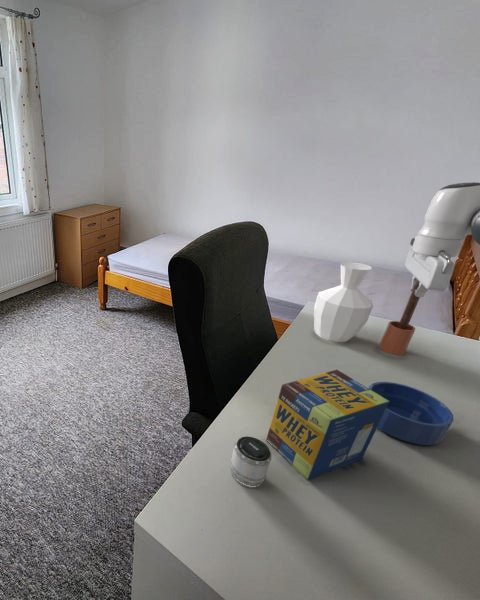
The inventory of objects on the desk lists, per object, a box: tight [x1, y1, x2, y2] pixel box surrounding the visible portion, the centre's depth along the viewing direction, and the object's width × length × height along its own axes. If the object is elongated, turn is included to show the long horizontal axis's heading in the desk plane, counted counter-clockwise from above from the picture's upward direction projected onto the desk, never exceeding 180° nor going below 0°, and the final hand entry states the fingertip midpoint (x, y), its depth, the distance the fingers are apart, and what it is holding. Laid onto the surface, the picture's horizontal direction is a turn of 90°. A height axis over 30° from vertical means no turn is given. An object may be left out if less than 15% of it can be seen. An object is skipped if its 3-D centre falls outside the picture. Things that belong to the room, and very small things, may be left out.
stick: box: [397, 280, 421, 330], centre depth 99 cm, size 2×2×22 cm
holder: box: [378, 320, 417, 356], centre depth 102 cm, size 6×6×9 cm
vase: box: [313, 261, 374, 343], centre depth 107 cm, size 14×14×25 cm
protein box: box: [265, 369, 390, 480], centre depth 68 cm, size 10×15×16 cm
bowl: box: [367, 381, 455, 446], centre depth 77 cm, size 14×14×6 cm
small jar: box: [230, 436, 272, 489], centre depth 65 cm, size 6×6×8 cm
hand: (416, 293), depth 96 cm, fingers closed on stick, 2 cm apart
